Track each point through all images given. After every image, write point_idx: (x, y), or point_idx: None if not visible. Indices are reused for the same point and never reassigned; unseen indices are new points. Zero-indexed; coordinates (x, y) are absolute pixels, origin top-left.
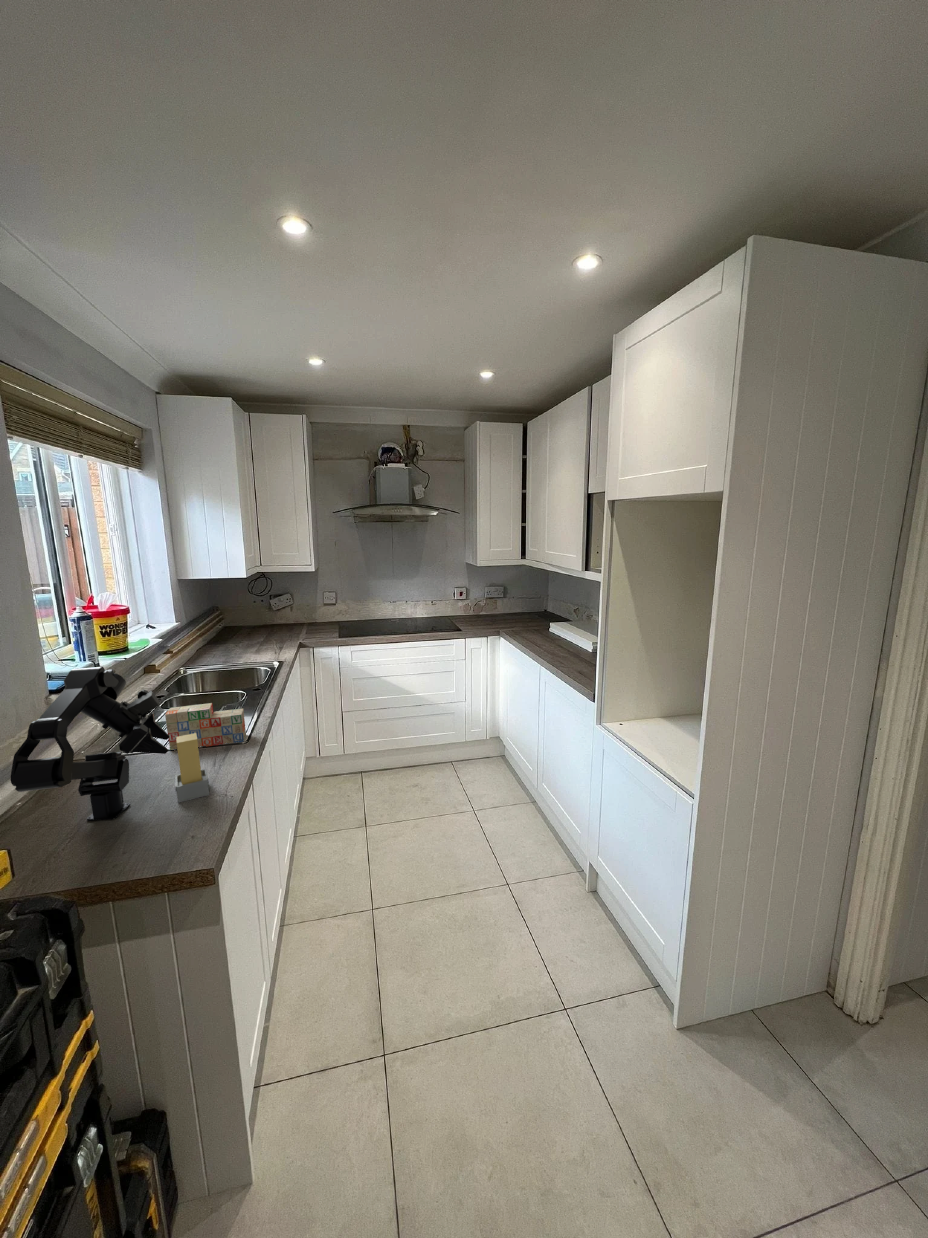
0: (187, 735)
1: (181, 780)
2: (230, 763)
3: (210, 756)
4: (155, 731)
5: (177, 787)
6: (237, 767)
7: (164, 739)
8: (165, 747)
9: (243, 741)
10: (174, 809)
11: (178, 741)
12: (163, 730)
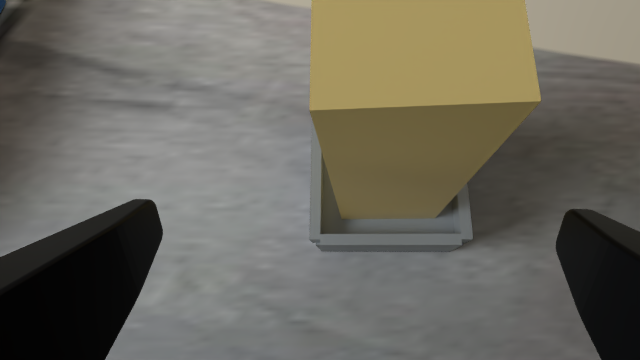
0: (338, 6)
1: (442, 208)
2: (182, 52)
3: (55, 119)
4: (41, 350)
5: (471, 234)
6: (238, 31)
7: (155, 254)
8: (604, 226)
9: (5, 1)
10: (508, 266)
11: (491, 84)
12: (63, 240)
